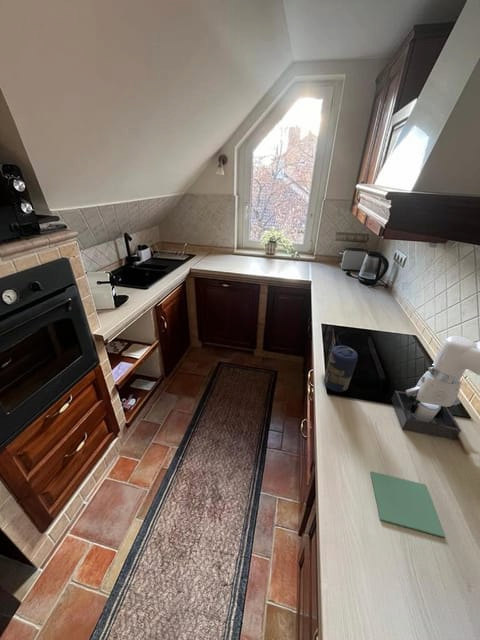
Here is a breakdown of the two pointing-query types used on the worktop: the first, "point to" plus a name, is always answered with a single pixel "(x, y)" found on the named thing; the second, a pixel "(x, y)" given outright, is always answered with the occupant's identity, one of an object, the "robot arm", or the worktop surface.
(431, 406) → the white short cylinder
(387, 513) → the drying mat
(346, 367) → the canister
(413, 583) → the worktop surface
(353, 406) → the worktop surface
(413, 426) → the basin
